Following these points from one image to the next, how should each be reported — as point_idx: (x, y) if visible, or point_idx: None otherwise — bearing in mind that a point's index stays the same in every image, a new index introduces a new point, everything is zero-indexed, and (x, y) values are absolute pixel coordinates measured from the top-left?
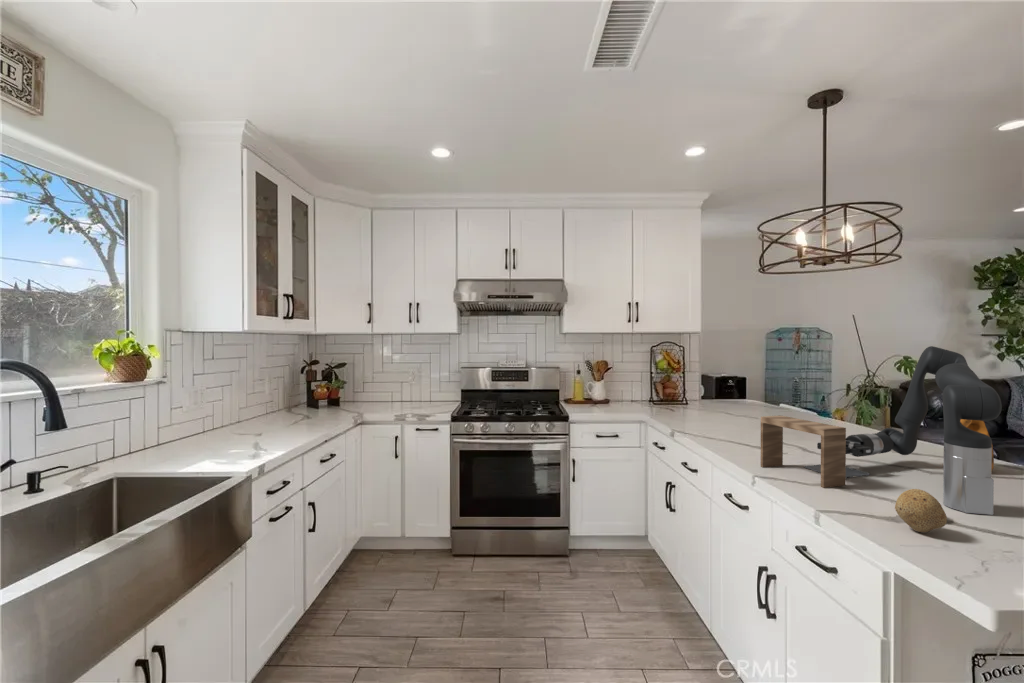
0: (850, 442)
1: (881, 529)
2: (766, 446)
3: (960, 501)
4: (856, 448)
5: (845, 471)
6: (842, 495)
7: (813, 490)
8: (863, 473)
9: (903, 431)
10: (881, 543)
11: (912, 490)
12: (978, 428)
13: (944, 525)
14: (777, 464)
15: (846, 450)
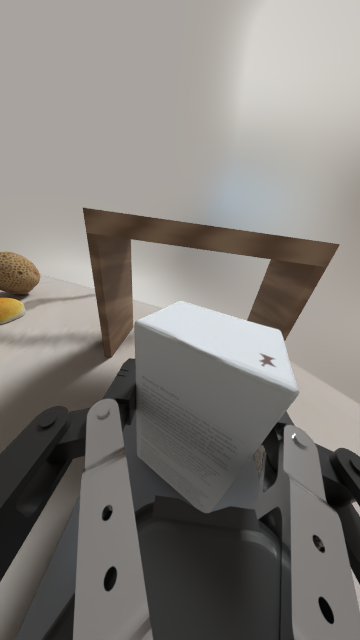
0: (140, 630)
1: (59, 289)
2: (254, 313)
3: None
4: (57, 406)
5: (101, 331)
6: (99, 320)
7: (133, 316)
8: (49, 581)
9: None
10: (62, 281)
11: (14, 253)
12: None
13: None
14: None
15: (118, 376)
